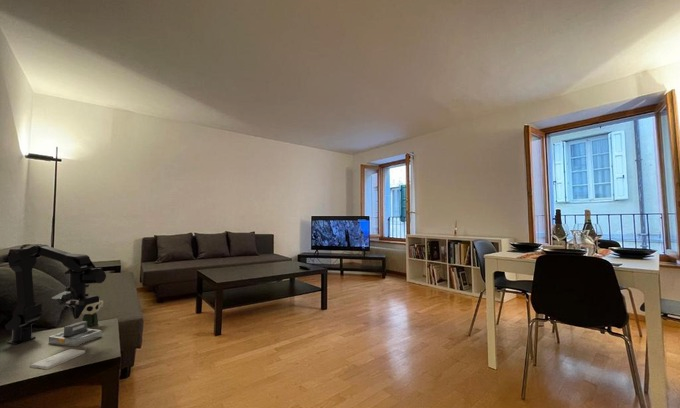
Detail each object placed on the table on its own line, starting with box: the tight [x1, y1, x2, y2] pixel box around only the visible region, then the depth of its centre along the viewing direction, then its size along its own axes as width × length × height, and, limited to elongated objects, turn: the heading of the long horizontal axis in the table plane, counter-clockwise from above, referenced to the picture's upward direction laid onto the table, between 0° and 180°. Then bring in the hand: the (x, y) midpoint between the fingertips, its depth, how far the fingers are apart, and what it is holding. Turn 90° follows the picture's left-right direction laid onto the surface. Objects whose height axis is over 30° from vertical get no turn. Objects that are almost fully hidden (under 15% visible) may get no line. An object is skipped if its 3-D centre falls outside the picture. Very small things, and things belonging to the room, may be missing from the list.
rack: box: [48, 328, 102, 348], centre depth 124 cm, size 15×11×3 cm
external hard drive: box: [29, 348, 86, 370], centre depth 107 cm, size 2×8×12 cm
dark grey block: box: [63, 320, 88, 338], centre depth 125 cm, size 3×7×6 cm, turn 166°
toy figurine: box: [81, 299, 104, 328], centre depth 141 cm, size 11×7×13 cm, turn 156°
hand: (76, 318), depth 125 cm, fingers closed
